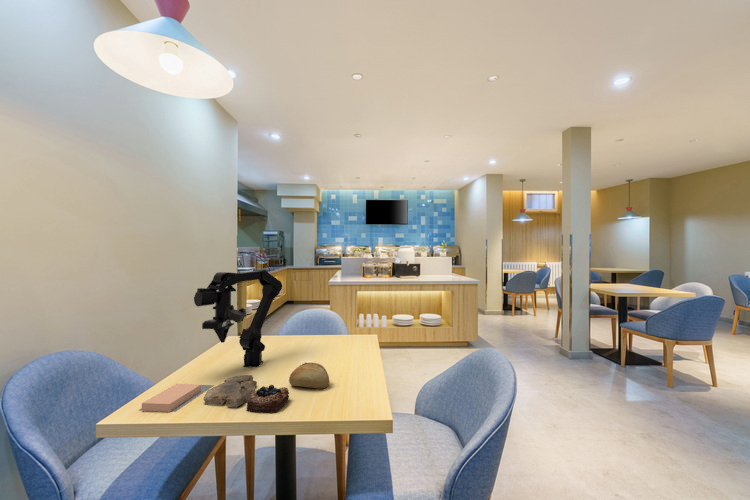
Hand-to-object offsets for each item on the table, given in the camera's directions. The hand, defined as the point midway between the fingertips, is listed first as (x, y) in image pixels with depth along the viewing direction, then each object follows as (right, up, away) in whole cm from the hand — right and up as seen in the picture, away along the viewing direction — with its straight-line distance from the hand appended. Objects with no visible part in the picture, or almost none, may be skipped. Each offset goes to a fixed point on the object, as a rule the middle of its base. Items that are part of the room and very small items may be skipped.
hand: (222, 342), depth 127 cm
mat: (-4, -12, -21) cm, 25 cm away
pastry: (+27, -13, -27) cm, 40 cm away
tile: (-4, -11, -17) cm, 20 cm away
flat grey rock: (+13, -13, -19) cm, 26 cm away
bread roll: (+37, -13, -12) cm, 41 cm away
